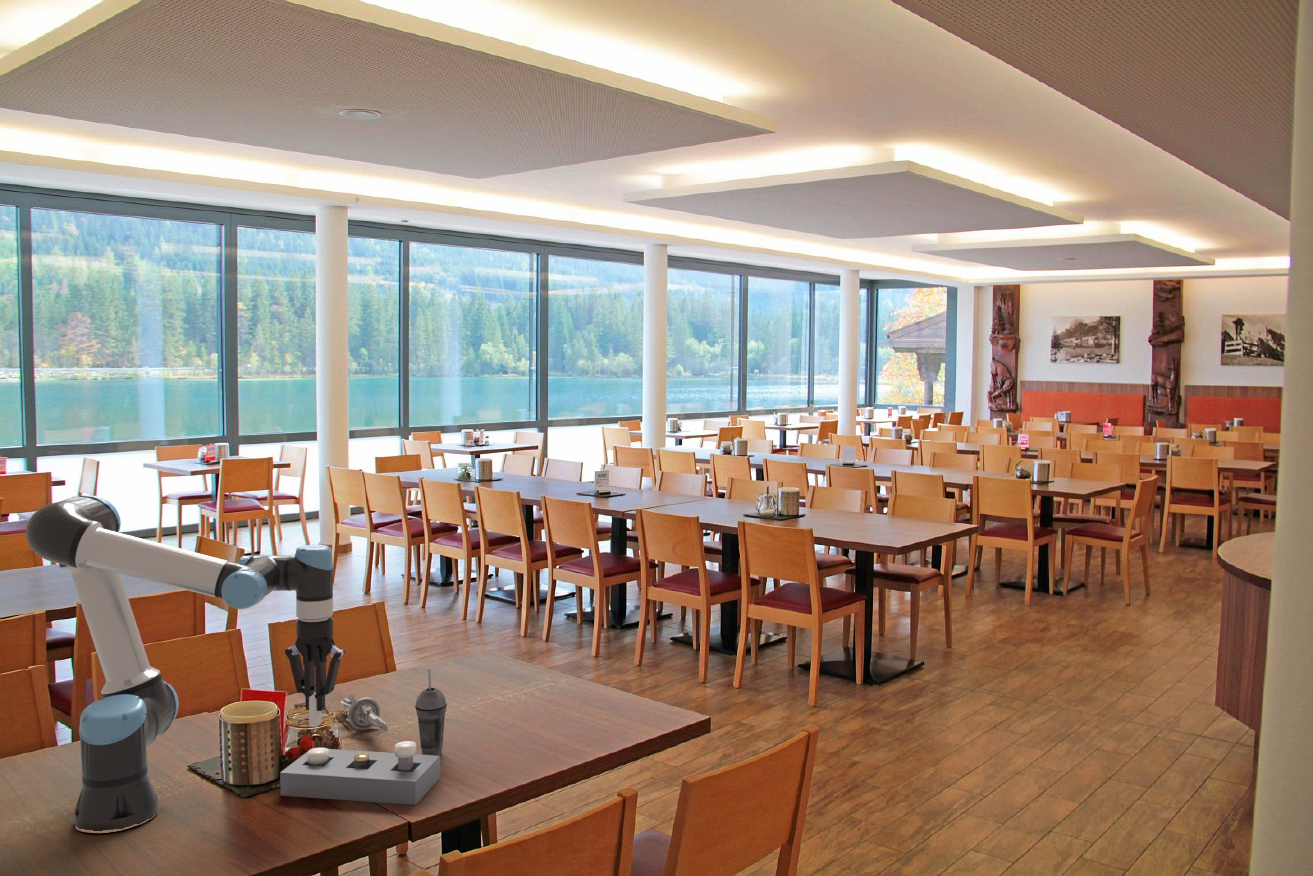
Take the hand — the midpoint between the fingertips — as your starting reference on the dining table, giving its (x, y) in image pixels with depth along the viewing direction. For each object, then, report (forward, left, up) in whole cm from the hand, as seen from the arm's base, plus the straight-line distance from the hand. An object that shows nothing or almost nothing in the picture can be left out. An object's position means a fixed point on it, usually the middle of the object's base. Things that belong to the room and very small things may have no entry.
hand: (315, 724), depth 221 cm
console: (0, -10, -13) cm, 17 cm away
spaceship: (+33, +4, -13) cm, 36 cm away
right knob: (0, -20, -8) cm, 22 cm away
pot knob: (0, -10, -9) cm, 14 cm away
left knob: (0, 0, -11) cm, 11 cm away
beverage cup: (+20, -18, -13) cm, 30 cm away
